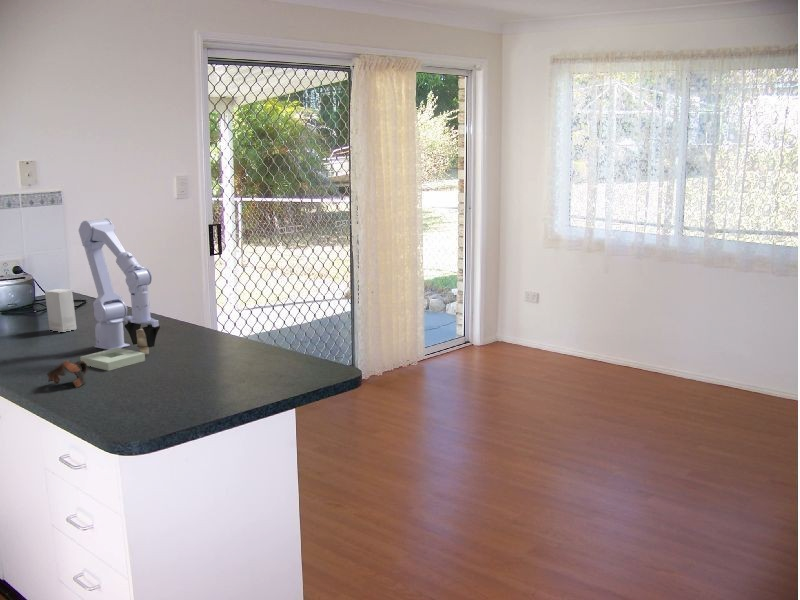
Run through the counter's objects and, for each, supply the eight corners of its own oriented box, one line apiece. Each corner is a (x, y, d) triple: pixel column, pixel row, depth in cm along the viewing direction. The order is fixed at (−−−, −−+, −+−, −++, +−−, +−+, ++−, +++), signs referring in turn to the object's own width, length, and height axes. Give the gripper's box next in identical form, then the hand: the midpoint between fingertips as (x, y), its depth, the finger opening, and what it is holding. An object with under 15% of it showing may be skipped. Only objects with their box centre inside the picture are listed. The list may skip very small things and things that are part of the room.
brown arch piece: (71, 392, 237) (54, 369, 235) (54, 402, 242) (37, 379, 240) (100, 372, 247) (84, 349, 245) (83, 381, 252) (67, 359, 250)
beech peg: (135, 353, 277) (133, 330, 276) (144, 351, 281) (143, 328, 279) (143, 355, 275) (141, 331, 274) (152, 352, 278) (150, 329, 277)
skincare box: (77, 330, 313) (73, 289, 310) (61, 333, 308) (58, 292, 305) (63, 327, 317) (59, 287, 315) (47, 331, 312) (44, 290, 309)
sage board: (80, 364, 265) (80, 356, 264) (117, 354, 276) (116, 347, 276) (108, 370, 257) (108, 362, 257) (145, 360, 269) (144, 353, 268)
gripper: (116, 305, 275) (119, 345, 278) (145, 309, 267) (148, 350, 270) (133, 301, 281) (136, 340, 284) (162, 306, 273) (165, 346, 276)
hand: (143, 345), depth 277 cm, fingers open, 7 cm apart
